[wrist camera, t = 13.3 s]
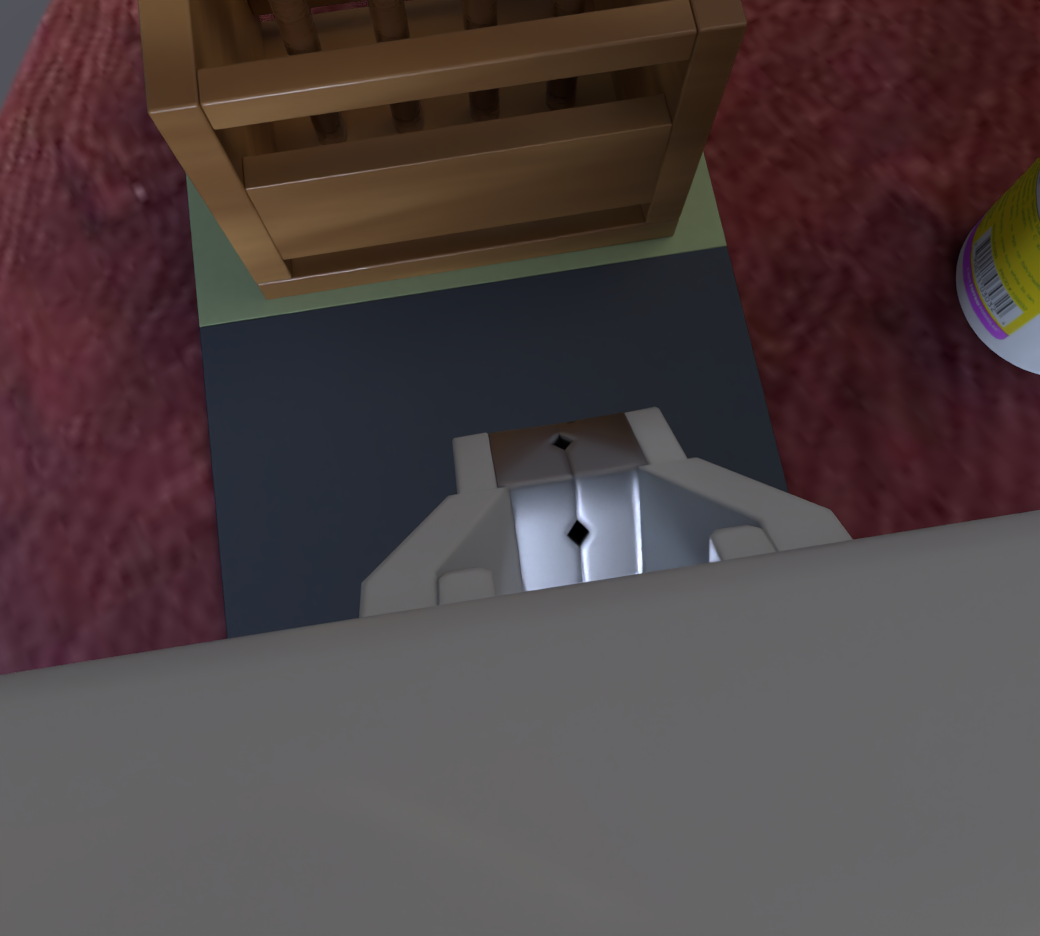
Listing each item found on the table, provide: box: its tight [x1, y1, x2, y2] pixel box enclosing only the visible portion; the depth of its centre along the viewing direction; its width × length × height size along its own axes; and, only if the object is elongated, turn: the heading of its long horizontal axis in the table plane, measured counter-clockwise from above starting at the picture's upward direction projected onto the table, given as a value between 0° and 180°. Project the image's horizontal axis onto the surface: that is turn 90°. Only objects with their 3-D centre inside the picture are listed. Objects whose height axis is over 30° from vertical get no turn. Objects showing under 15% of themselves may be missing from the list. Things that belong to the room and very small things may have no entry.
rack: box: [138, 0, 747, 300], centre depth 26 cm, size 10×14×10 cm
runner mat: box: [186, 153, 788, 639], centre depth 30 cm, size 24×18×1 cm
